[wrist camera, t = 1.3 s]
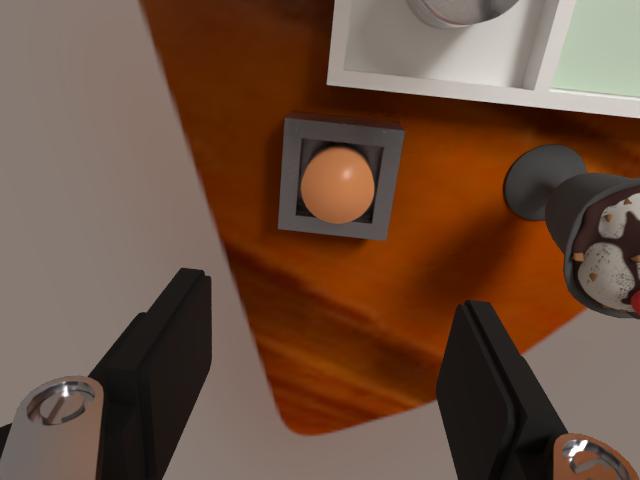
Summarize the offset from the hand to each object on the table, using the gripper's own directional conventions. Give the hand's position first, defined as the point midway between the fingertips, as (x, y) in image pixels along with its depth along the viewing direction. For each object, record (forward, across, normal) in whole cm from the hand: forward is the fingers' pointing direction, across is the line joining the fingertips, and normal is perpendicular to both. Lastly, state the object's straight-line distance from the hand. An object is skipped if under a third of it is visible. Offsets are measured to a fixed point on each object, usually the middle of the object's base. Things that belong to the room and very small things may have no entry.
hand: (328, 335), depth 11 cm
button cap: (+16, 0, 0) cm, 16 cm away
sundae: (+18, -13, 0) cm, 22 cm away
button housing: (+18, 0, 0) cm, 18 cm away
